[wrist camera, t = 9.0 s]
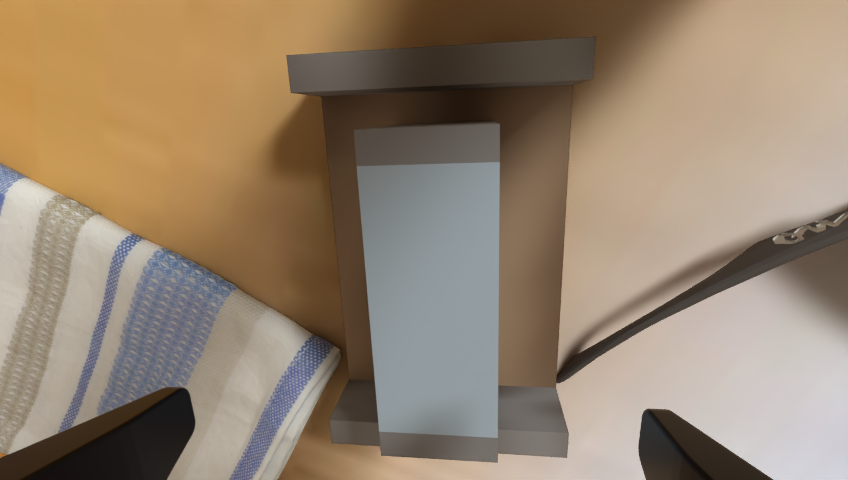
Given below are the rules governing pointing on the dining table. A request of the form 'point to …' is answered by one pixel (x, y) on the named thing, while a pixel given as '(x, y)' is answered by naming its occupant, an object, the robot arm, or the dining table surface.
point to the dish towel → (142, 339)
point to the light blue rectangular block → (433, 285)
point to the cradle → (518, 204)
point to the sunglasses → (727, 279)
